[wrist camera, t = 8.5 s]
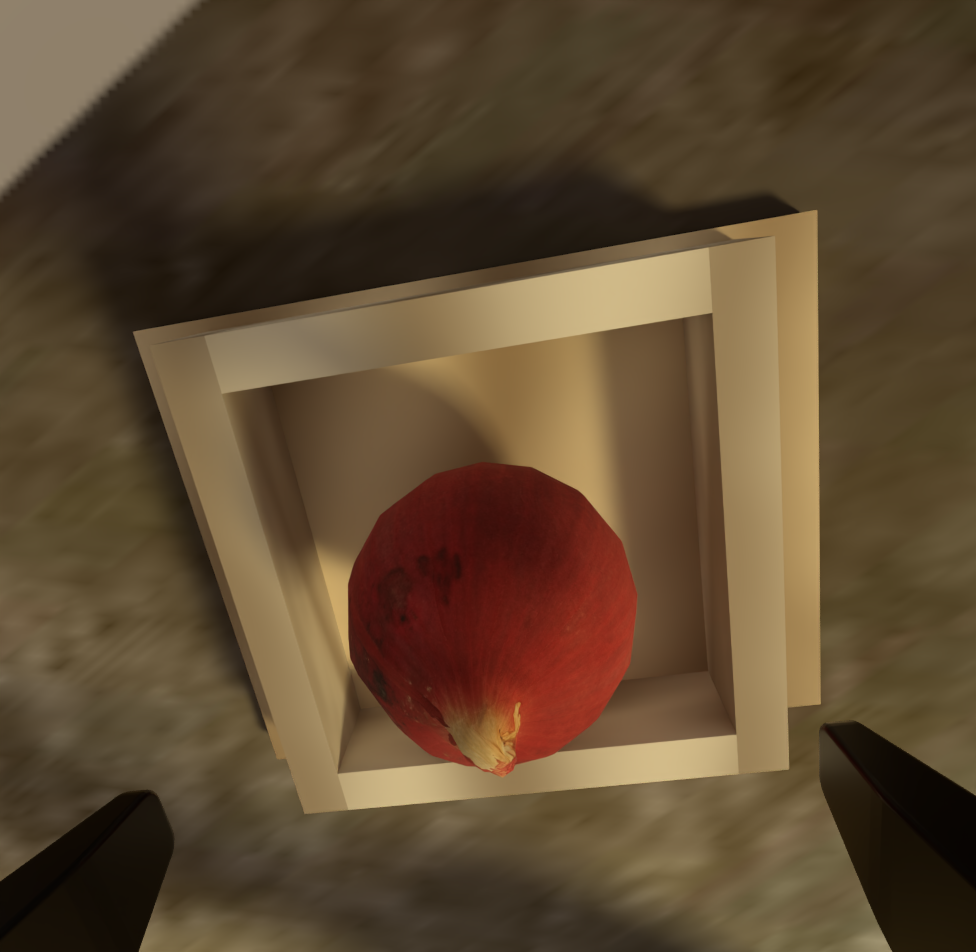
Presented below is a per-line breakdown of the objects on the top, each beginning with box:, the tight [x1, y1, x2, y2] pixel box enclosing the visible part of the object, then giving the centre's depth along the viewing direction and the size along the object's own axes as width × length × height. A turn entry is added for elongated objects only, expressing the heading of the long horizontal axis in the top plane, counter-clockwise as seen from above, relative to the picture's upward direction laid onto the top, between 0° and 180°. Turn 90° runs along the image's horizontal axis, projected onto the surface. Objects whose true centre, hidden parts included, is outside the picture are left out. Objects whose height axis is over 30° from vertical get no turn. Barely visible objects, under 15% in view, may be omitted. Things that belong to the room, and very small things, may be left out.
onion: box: [348, 462, 638, 778], centre depth 13 cm, size 6×6×8 cm
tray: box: [133, 210, 821, 814], centre depth 16 cm, size 16×13×3 cm
